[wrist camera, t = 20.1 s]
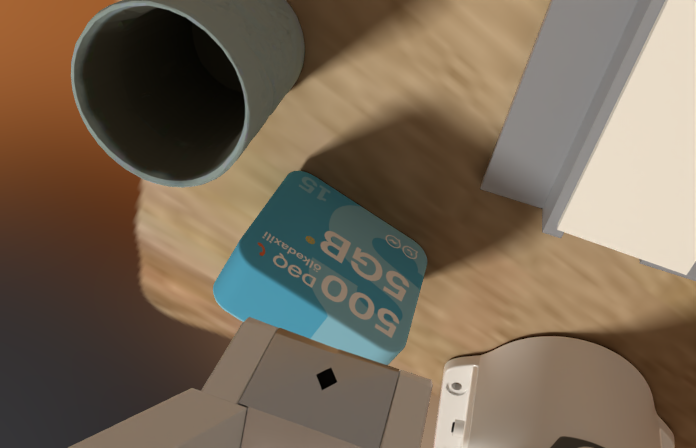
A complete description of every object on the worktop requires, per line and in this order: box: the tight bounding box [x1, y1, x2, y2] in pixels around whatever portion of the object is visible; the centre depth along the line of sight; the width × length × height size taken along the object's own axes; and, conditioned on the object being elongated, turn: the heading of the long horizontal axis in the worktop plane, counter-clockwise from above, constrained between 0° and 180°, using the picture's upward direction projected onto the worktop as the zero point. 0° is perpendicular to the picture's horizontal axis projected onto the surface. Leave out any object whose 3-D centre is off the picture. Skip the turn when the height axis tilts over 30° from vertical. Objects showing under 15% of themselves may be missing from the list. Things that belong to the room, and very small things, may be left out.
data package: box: [213, 171, 427, 365], centre depth 44 cm, size 12×4×12 cm, turn 60°
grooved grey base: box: [480, 0, 696, 281], centre depth 35 cm, size 22×16×5 cm
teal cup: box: [71, 0, 305, 187], centre depth 38 cm, size 10×10×12 cm
